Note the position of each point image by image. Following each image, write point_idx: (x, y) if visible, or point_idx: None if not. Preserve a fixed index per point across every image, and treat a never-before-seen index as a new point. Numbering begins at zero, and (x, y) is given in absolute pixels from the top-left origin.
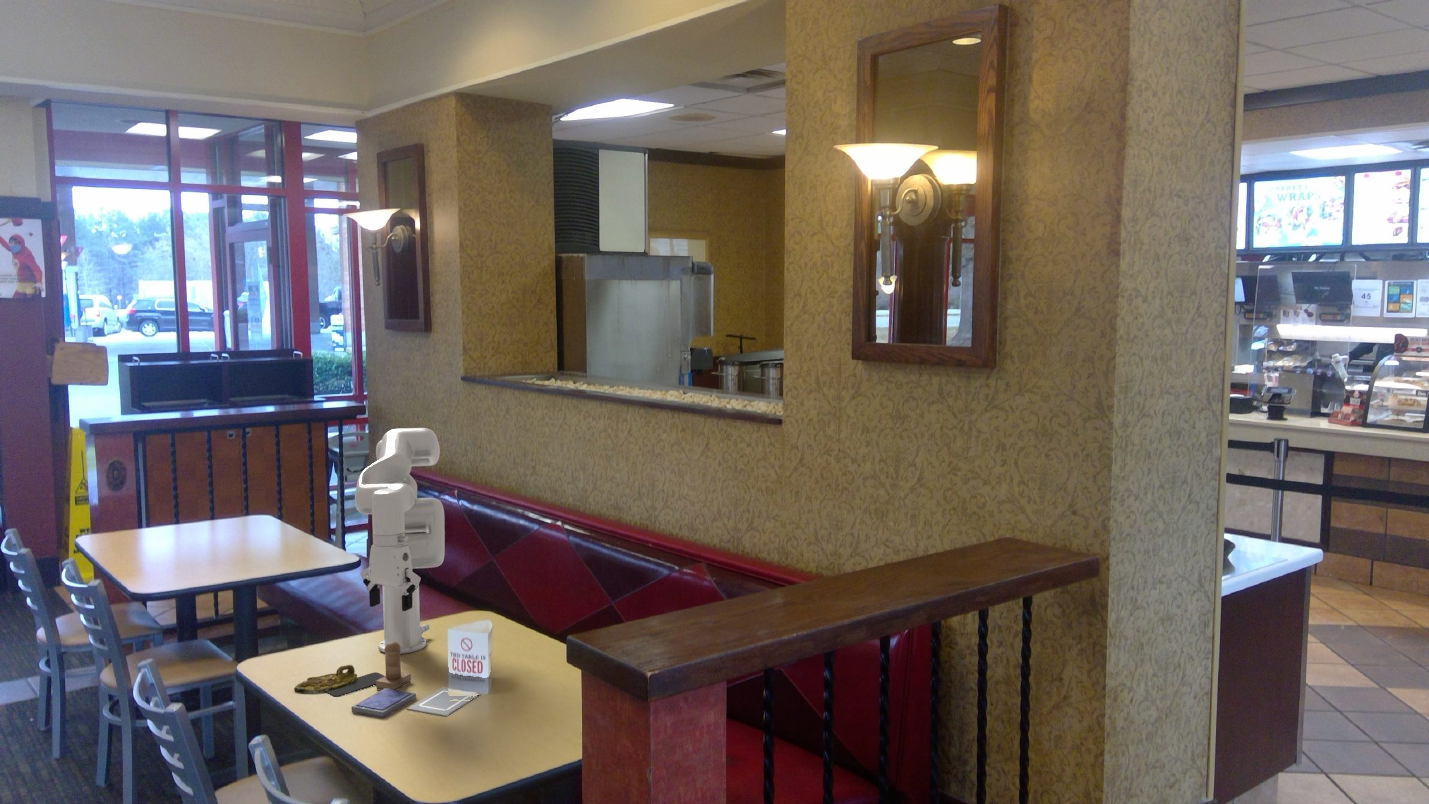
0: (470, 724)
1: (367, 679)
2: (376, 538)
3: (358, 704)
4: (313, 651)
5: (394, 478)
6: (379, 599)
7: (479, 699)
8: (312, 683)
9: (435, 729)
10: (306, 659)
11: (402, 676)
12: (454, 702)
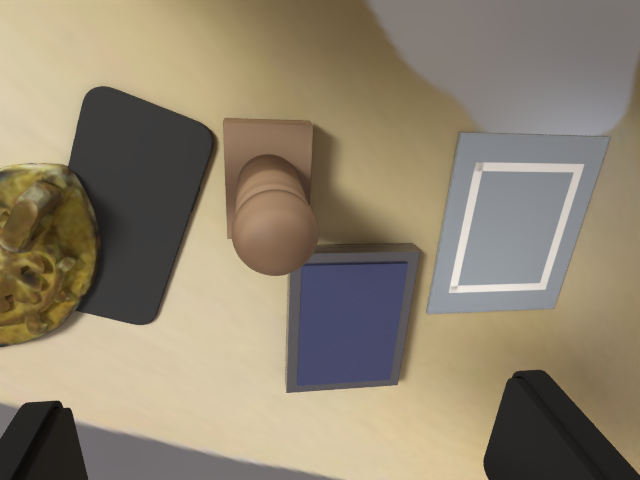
0: (624, 318)
1: (129, 172)
2: None
3: (301, 382)
4: None
5: None
6: (48, 463)
7: (610, 174)
8: None
9: (549, 368)
10: None
11: (299, 164)
12: (547, 232)
